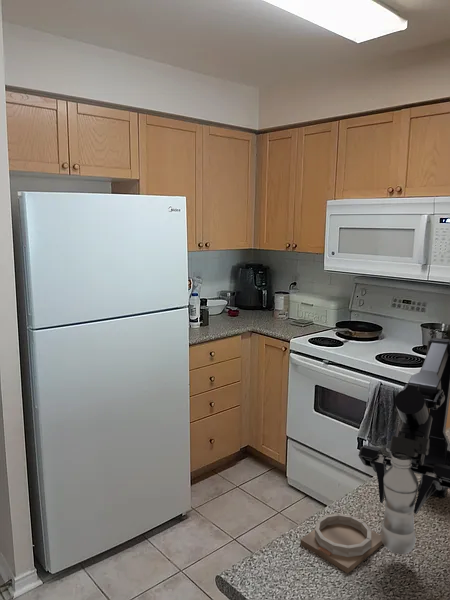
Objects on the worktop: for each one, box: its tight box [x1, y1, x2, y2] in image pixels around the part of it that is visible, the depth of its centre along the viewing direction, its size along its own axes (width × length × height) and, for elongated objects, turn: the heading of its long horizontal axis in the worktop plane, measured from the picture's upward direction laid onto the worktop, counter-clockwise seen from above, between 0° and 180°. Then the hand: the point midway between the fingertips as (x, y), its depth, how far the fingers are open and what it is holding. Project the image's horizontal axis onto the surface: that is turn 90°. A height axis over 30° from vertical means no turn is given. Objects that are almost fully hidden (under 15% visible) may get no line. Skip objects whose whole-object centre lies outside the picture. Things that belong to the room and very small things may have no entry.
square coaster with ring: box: [299, 513, 384, 574], centre depth 103 cm, size 14×12×3 cm
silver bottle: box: [380, 452, 420, 555], centre depth 96 cm, size 6×7×20 cm
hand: (397, 507), depth 94 cm, fingers closed on silver bottle, 6 cm apart
